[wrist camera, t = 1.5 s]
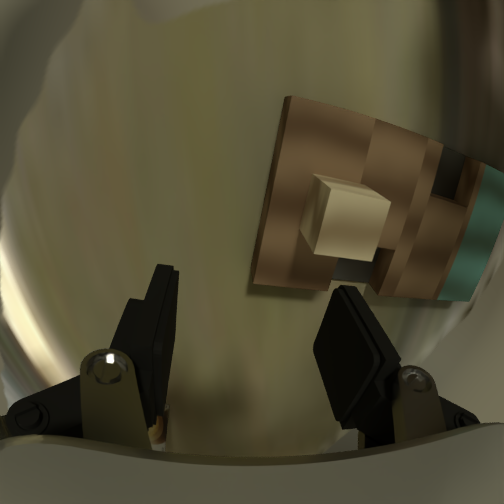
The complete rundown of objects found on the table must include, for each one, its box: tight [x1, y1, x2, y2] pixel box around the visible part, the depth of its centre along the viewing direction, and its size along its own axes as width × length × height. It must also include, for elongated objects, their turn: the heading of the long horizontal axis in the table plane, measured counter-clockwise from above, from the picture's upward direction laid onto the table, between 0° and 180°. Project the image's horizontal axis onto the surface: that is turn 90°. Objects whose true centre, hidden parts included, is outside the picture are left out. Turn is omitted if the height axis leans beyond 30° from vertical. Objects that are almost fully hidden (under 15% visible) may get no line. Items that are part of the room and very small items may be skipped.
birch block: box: [299, 173, 391, 262], centre depth 25 cm, size 5×5×5 cm
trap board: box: [251, 96, 504, 302], centre depth 30 cm, size 17×29×3 cm, turn 80°
